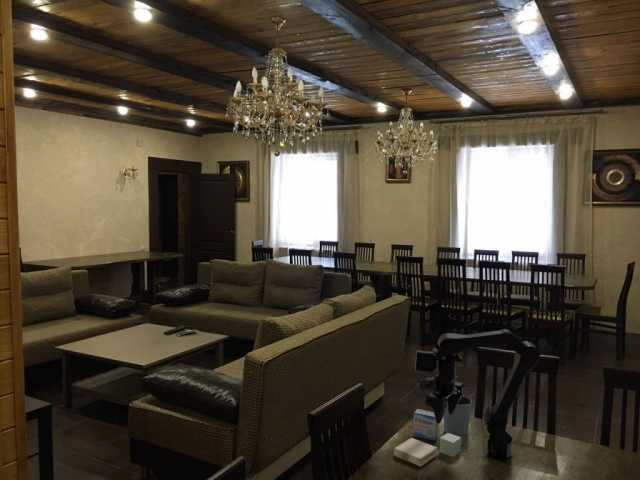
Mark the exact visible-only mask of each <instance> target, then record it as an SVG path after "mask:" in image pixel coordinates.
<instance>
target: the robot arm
mask: <svg viewBox="0 0 640 480" xmlns="http://www.w3.org/2000/svg"><path fill="white" fill-rule="evenodd" d="M499 345H506V346H507V347H509V348H510V349H512V351H514V352H515V353H514V358H513V366H512V367H511V370H510V372H509V374H508V377H507V379H506V380H505V383H504V386H503V388H502V390H501V392H500V394H499V396H498V398H497V401H496V403H495V404H493V406H491V405H487V406H486V411H485V412H484V413H483V414H482V415H483V423H484V425H485V428H486V430H487V432H488V434H489V436H488V439H487V444H486V445H487V450H486V451H487V452H486V453H485V454H486V456H487V457H490V458H493V459H495V460H498V461H501V462H503V463H505V462H507V461H508V460H509V459H510V458H511V457H513V455H514V454H513V453H512V441H513V437H512V434H511V432H510V430H509V428H508V422H509V421H508V420H509V412H510V410H511V407H512V406H513V404H514V401H515V399H516V397H517V395H518V393H519V391H520V388H521V386H522V384H523V382H524V380H525V378H526V377H527V374H528V373H529V372H530V371H531V370H532V369H534V368H535V366H536V365H537V364H538V362H539V360H540V358H541V354H540V350H539V349H538V348H537V347H536V346H535V345H534V344H533V343H532V342H530V341H527V340H522V339H521V338H520V337H518V336H517V335H515V334H514V333H512V332H511V331H510V330H509V329H506V328H503V329H501V330H494V331H485V332H478V333H471V334H461V333H450V332H449V333H448V332H447V333H446V332H445V333H442V334H440V336H439V338H438V340H437V344H435V346H434V347H433V348H432V349H431V350H432V351H429V350H428V351H427V350H426V351H425V350H419V349H417V350H415V351H416V354H415V358H414V371H415V372H419V373H433V372H435V370H436V369H437V374H436V375H434V376H430V377H426V378H421V379H420V380H419V382H418V383H419V385H418V387H419V388H420V389H421V390H422V392H424V391H428V390H432V391H433V392H431V393H429V394H428V395H426V396H425V397H424V404H425V405H427V406H429V407H431V409H432V412H434V415H435V419H436V422H437V423H438V425H440V424H441V423H442V420H443V419H444V413H445V410H446V408H447V405H446V404H447V398H448V411H449V414H451V415H452V414H453V412H454V410H455V408H456V406H457V404H458V403H459V401H460V399H461V397H462V396H464V393H466V385H465V384H464V383H463V382H459V381H457V380H458V377H459V376H458V375H456V373H457V372H456V369H457V362H461V363H462V362H463V358H462V356H461V355H460V353H461V352H464V351H465V350H469V349H476V348H483V347H484V348H485V347H490V346H492V347H493V346H499Z"/></svg>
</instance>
